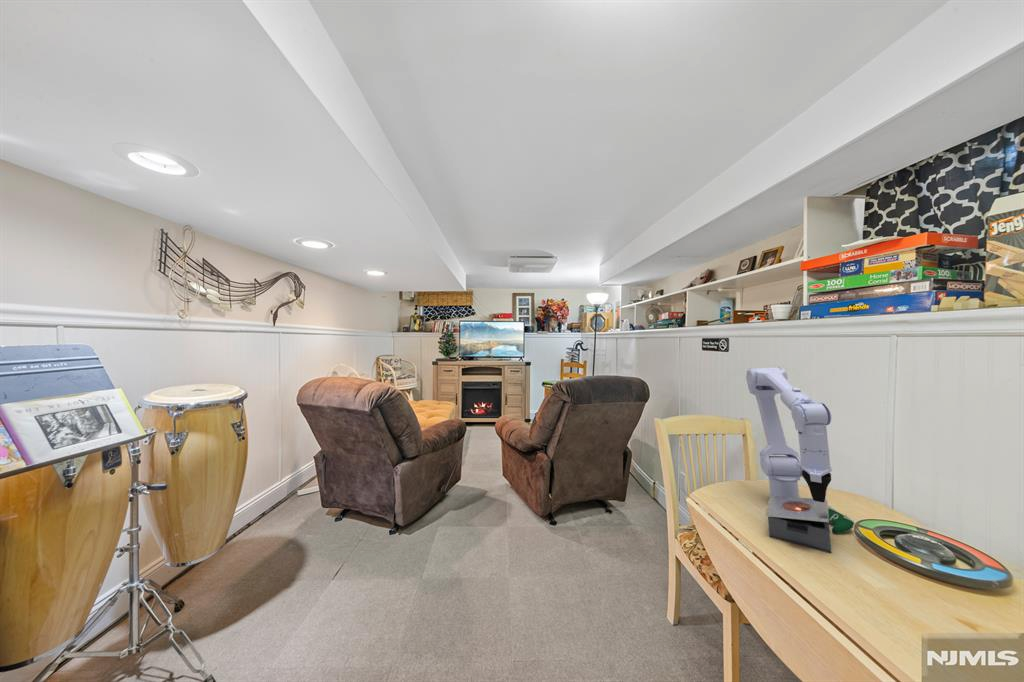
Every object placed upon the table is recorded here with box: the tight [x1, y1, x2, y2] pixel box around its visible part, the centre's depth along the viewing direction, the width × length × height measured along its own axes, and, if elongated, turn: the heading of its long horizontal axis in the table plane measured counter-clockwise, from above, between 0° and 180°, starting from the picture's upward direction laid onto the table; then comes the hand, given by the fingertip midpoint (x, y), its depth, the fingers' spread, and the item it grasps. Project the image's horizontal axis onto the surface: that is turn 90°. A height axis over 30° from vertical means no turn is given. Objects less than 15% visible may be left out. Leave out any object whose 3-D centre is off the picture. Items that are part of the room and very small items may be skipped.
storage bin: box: [767, 516, 832, 554], centre depth 89 cm, size 16×12×6 cm
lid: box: [765, 495, 829, 522], centre depth 89 cm, size 13×13×1 cm
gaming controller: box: [828, 504, 855, 535], centre depth 92 cm, size 9×4×6 cm
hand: (818, 500), depth 86 cm, fingers closed
